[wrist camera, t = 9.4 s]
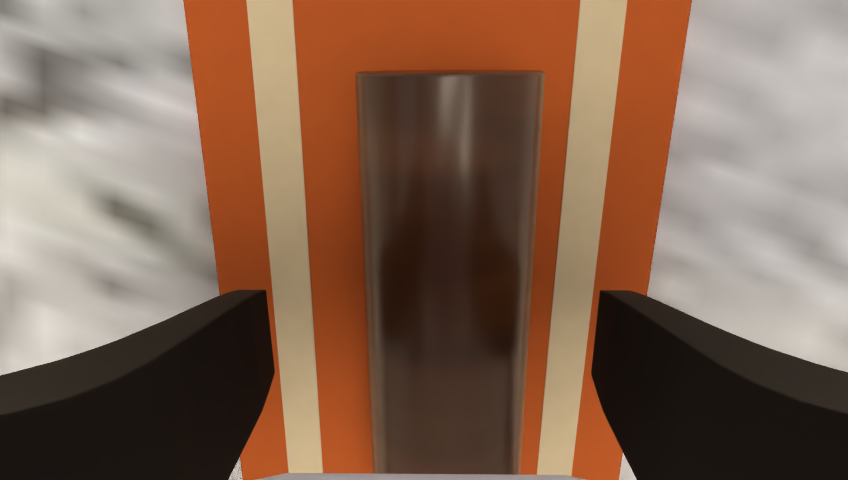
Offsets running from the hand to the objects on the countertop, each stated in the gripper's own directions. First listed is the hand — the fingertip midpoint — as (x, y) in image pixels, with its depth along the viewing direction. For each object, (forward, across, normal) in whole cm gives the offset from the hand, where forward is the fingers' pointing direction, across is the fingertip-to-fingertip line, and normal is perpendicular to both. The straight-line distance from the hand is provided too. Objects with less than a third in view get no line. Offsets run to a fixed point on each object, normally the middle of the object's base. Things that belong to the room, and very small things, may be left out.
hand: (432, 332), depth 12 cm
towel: (+3, 0, 0) cm, 3 cm away
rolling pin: (0, 0, 0) cm, 1 cm away
